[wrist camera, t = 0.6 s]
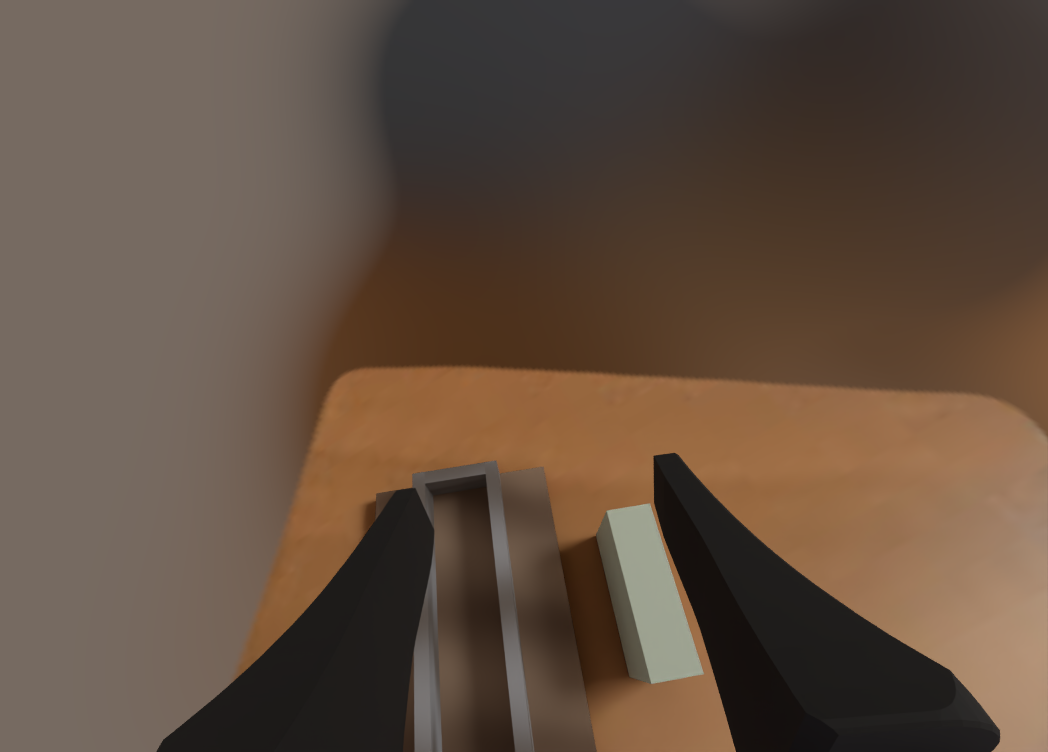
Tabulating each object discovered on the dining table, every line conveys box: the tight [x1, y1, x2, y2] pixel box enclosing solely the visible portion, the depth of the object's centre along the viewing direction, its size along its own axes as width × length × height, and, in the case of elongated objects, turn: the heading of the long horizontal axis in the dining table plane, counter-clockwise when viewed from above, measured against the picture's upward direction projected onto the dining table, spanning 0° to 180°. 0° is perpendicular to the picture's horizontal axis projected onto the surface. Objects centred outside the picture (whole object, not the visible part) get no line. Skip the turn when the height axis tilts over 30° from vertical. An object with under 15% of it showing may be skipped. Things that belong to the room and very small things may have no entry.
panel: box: [596, 504, 704, 684], centre depth 24 cm, size 8×2×6 cm, turn 9°
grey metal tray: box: [375, 461, 597, 752], centre depth 25 cm, size 18×12×4 cm, turn 9°
